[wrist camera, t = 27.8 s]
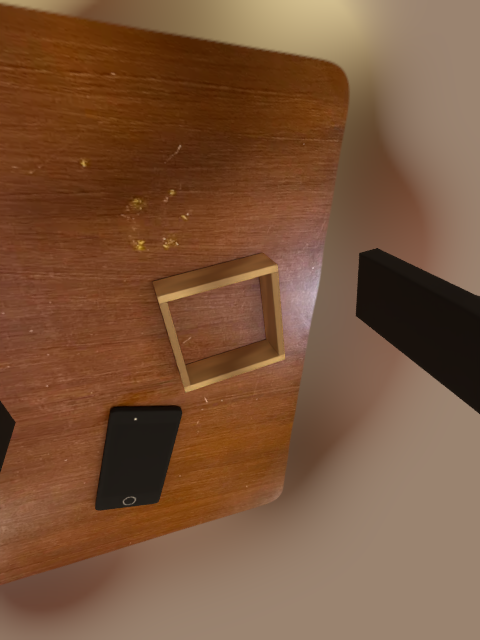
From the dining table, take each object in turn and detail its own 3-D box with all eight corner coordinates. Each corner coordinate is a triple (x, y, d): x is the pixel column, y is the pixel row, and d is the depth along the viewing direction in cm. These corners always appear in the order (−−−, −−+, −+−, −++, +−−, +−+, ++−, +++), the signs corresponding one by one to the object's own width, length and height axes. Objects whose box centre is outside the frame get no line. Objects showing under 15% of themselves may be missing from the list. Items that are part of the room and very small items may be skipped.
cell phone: (95, 505, 49) (94, 511, 48) (110, 406, 42) (110, 412, 41) (157, 498, 52) (158, 503, 52) (181, 405, 45) (183, 410, 44)
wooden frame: (262, 252, 39) (277, 264, 35) (272, 342, 45) (285, 359, 42) (152, 281, 36) (156, 297, 33) (179, 372, 43) (185, 392, 39)
